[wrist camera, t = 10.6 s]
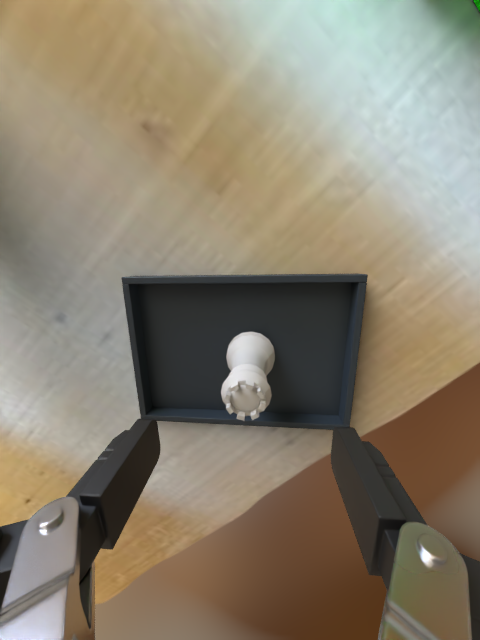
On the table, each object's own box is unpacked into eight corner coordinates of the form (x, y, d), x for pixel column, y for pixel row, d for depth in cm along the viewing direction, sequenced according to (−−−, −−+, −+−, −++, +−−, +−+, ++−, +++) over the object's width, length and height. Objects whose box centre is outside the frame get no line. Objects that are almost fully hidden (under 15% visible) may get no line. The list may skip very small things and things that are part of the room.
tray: (133, 276, 21) (121, 277, 19) (357, 273, 19) (368, 274, 17) (150, 408, 24) (141, 420, 23) (342, 417, 23) (349, 431, 21)
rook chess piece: (265, 323, 20) (267, 359, 13) (281, 366, 21) (292, 424, 14) (220, 338, 21) (197, 381, 13) (237, 379, 22) (224, 441, 14)
